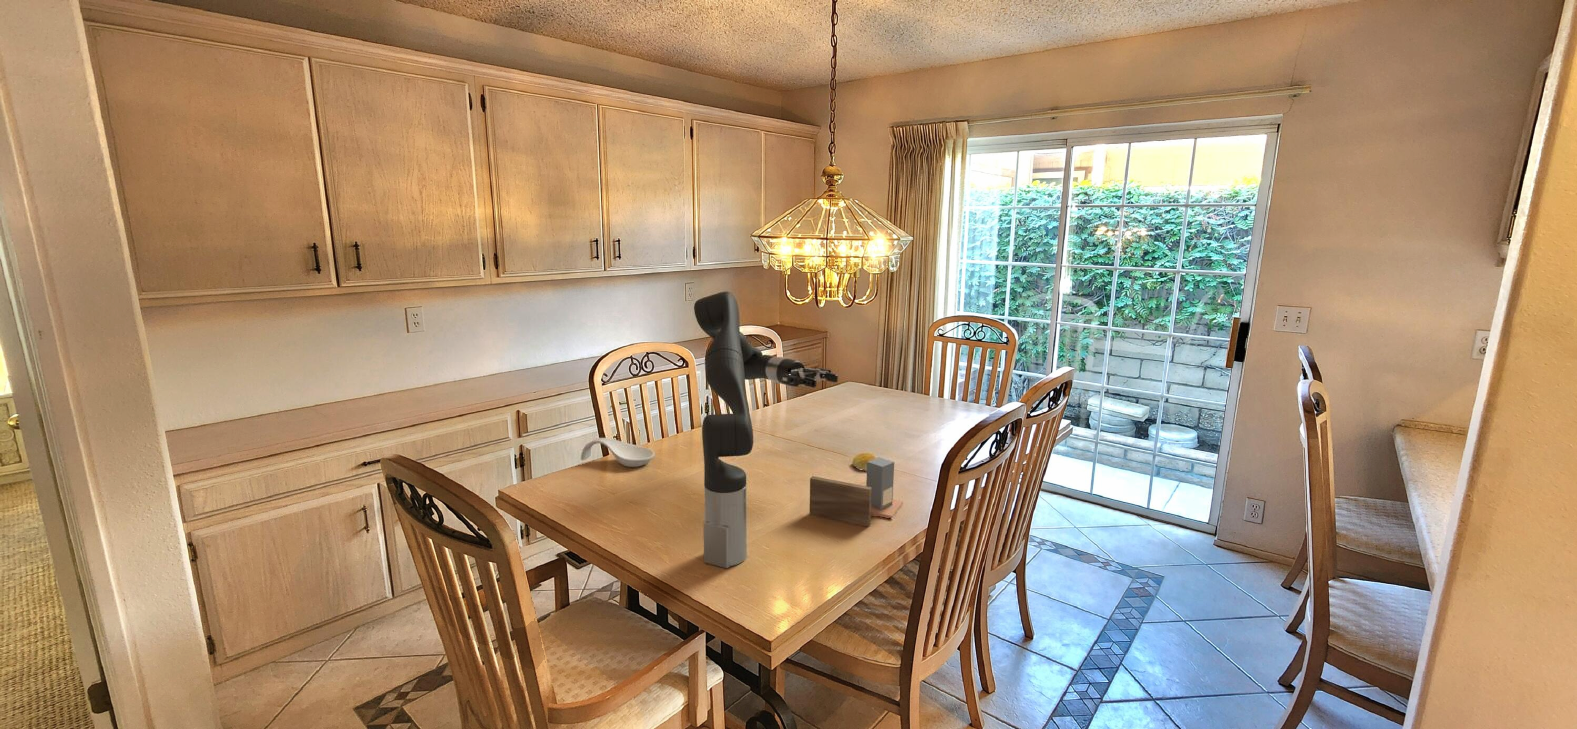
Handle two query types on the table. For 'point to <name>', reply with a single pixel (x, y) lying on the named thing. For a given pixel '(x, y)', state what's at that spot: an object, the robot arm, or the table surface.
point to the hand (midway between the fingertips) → (826, 381)
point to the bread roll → (862, 460)
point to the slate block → (880, 482)
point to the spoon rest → (622, 452)
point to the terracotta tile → (887, 509)
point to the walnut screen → (840, 501)
